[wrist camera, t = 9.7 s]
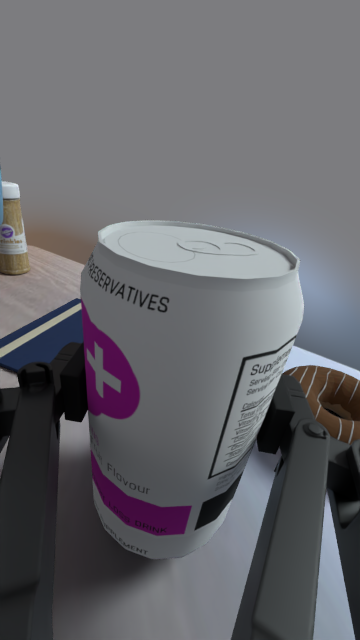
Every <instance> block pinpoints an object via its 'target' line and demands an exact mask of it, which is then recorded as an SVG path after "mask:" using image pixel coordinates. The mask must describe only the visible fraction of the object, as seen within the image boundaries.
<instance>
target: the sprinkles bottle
mask: <svg viewBox="0 0 360 640" xmlns="http://www.w3.org/2000/svg"><path fill="white" fill-rule="evenodd" d="M2 195H3V222H2V224H1V226H0V271H1V272H2V273H5V274H13V275H14V274H23V273H26V272H28V271H29V270H30V266H29V260H28V254H27V245H26V238H25V232H24V225H23V219H22V214H21V208H20V202H19V201H20V199H19V198H20V193H19V187H18V185H17V184H15V183H10V182H4V181H2Z"/></svg>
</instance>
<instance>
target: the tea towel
mask: <svg viewBox="0 0 360 640" xmlns="http://www.w3.org/2000/svg"><path fill="white" fill-rule="evenodd" d="M83 341H84V339H83V323H82V307H81V299H78V298H76V299H74V300H72V301H70V302H68V303H67V304H65V305H63V306H61V307H59V308H57V309H56V310H54V311H52V312H50V313H48V314H46V315H44V316H43V317H41V318H39V319H37V320H35V321H33V322H31V323H30V324H28V325H26V326H24V327H22V328H20V329H18V330H17V331H15V332H13V333H11V334H9V335H7V336H5V337H4V338H2V339H0V366H2V367H5V368H7V369H10V370H12V371H15V372H18V370H19V369H20V368H21V367H23V366H24V365H26V364H29V363H32V362H46V363H49V364H50V362H51V361H52V360H53V359H54V357H55V356H56V355H57V354H58V353H59V351H60V350H61V349H62V348H63V347H64V346H65V345H67V344H69V343H70V342H76V343H83Z"/></svg>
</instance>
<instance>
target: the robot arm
mask: <svg viewBox="0 0 360 640" xmlns="http://www.w3.org/2000/svg"><path fill="white" fill-rule="evenodd" d="M2 222H3V195H2V179H1V168H0V226H1V224H2ZM17 377H18V381H19V386H20V387H16V388H4V389H0V453H1V451H2V449H3V447H4V445H5V443H6V441H7V439H8V437H9V436H10V437H9V442H8V447H7V451H6V456H5V460H4V465H3V470H2V474H1V479H0V640H53V628H52V604H53V581H54V558H55V535H56V512H57V489H58V466H59V443H60V420H59V419H60V418H61V416H62V414H63V413H64V414H65V420H70V421H76V422H82V420H83V418H84V416H85V414H86V412H87V410H88V401H87V385H86V370H85V354H84V341H83V343H76V342H70V343H69V344H67V345H65V346H64V347H63V348H62V349H61V350H60V351H59V353H58V354H57V355H56V356H55V357H54V359H53V360H52V361H51V362H50V364H49V363H46V362H32V363H29V364H26V365H24V366H23V367H21V368H20V369H19V370H18V372H17ZM257 443H258V449H259V452H265V453H271V454H276V452H277V450H278V448H279V446H280V450H281V454H282V456H281V458H280V460H279V462H278V464H277V466H276V468H275V470H274V472H276V473H275V477H274V481H273V485H272V488H271V492H270V496H269V500H268V503H267V507H266V511H265V514H264V518H263V522H262V526H261V529H260V533H259V537H258V541H257V544H256V548H255V552H254V555H253V559H252V563H251V567H250V570H249V574H248V578H247V582H246V585H245V589H244V593H243V596H242V600H241V604H240V608H239V611H238V615H237V619H236V623H235V626H234V630H233V634H232V637H231V640H313V632H314V621H315V610H316V598H317V587H318V575H319V564H320V552H321V541H322V529H323V518H324V506H325V495H326V488H327V491H328V496H329V502H330V507H331V512H332V518H333V523H334V528H335V533H336V539H337V544H338V549H339V555H340V560H341V565H342V571H343V576H344V581H345V587H346V592H347V597H348V602H349V608H350V613H351V618H352V624H353V629H354V634H355V640H360V439H357V440H354V441H353V443H352V444H351V445H350V444H347V443H345V442H343V441H340V440H338V439H335V438H333V437H331V436H330V434H329V432H328V431H327V429H326V428H325V427H324V426H323V425H322V424H321V423H319V422H317V421H316V420H315V417H314V415H313V413H312V410H311V408H310V405H309V403H308V400H307V399H306V396H305V393H304V392H303V388H302V386H301V384H300V382H299V381H298V380H297V379H296V378H295V377H294V376H291V375H284V374H281V376H280V379H279V382H278V384H277V387H276V389H275V392H274V394H273V397H272V399H271V402H270V405H269V407H268V410H267V412H266V415H265V417H264V420H263V422H262V425H261V428H260V430H259V433H258V435H257Z"/></svg>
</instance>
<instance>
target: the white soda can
mask: <svg viewBox="0 0 360 640" xmlns="http://www.w3.org/2000/svg"><path fill="white" fill-rule="evenodd" d="M299 264H300V259H299V258H298V257H297V256H295V255H294V254H293V253H292V252H291V251H290V250H288V249H286V248H284V247H282V246H280V245H278V244H276V243H274V242H272V241H269V240H266V239H263V238H260V237H257V236H253V235H251V234H247V233H243V232H239V231H235V230H230V229H226V228H221V227H214V226H209V225H203V224H196V223H186V222H177V221H155V220H154V221H153V220H147V221H128V222H122V223H117V224H113V225H108V226H107V227H105V228H104V229H102V230H101V231H99V232H98V243H97V245H96V246H95V248H94V250H93V252H92V254H91V256H90V258H89V260H88V262H87V264H86V265H85V267H84V269H83V271H82V273H81V287H80V292H81V307H82V323H83V339H84V354H85V370H86V385H87V401H88V416H89V432H90V448H91V463H92V479H93V494H94V504H95V507H96V509H97V512H98V514H99V516H100V519H101V521H102V524H103V526H104V529H105V530H106V531H107V532H108V533H109V534H110V535H111V536H112V537H113V538H114V539H115V540H116V541H117V542H118V543H119V544H120V545H121V546H123V547H124V548H125V549H126V550H129V551H132V552H134V553H137V554H140V555H142V556H145V557H148V558H150V559H166V558H179V557H184V556H185V555H187V554H189V553H191V552H193V551H194V550H196V549H198V548H200V547H202V546H203V545H205V544H207V543H208V542H209V540H210V539H211V538H212V536H213V535H214V534H215V532H216V531H217V530H218V528H219V527H220V526H221V525H222V523H223V522H224V519H225V517H226V514H227V512H228V509H229V507H230V504H231V502H232V499H233V496H234V494H235V491H236V489H237V486H238V484H239V481H240V479H241V476H242V474H243V471H244V468H245V466H246V463H247V461H248V458H249V456H250V453H251V451H252V448H253V445H254V443H255V440H256V438H257V435H258V433H259V430H260V428H261V425H262V422H263V420H264V417H265V415H266V412H267V410H268V407H269V405H270V402H271V399H272V397H273V394H274V392H275V389H276V387H277V384H278V382H279V379H280V376H281V374H282V371H283V369H284V366H285V364H286V361H287V359H288V356H289V353H290V351H291V348H292V346H293V343H294V341H295V338H296V335H297V333H298V331H299V328H300V325H301V322H302V319H303V309H304V301H303V296H302V291H301V286H300V281H299V276H298V268H299Z"/></svg>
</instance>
